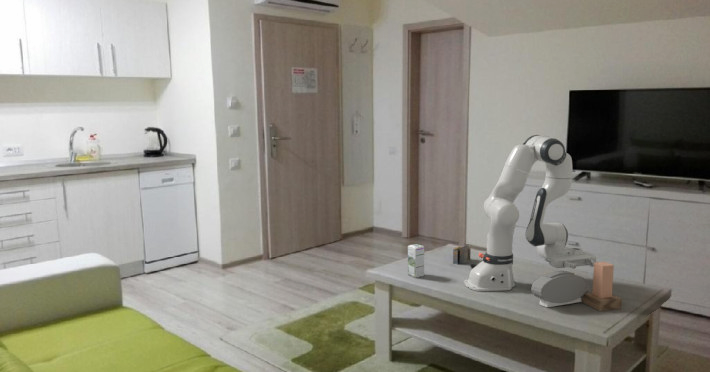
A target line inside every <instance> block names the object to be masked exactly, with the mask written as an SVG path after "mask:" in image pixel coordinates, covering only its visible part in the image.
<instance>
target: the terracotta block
mask: <svg viewBox="0 0 710 372" xmlns="http://www.w3.org/2000/svg"><path fill="white" fill-rule="evenodd" d="M614 266H615V264H612V263H610V262H607V261H599V262H597V261H596V263H594V267H593V280H592V292H593V293H592V294H593V295H595V296H597V297H599V298H608V297H612V294H613V283H614Z"/></svg>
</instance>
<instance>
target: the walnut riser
mask: <svg viewBox="0 0 710 372" xmlns="http://www.w3.org/2000/svg"><path fill="white" fill-rule="evenodd" d="M592 293H593V291H586V293H585V294H584V295H583V296H582V303H583V304H585V305H586V306H588V307H591V308H593V309H595V310H597V311H599V312H603V311H611V310H618V309H619V310H620V309H622V303H623V299H622V298H621V297H620V296H617V295H616V294H613V293H612V297H608V298H599V297H597V296H595V295H593V294H592Z"/></svg>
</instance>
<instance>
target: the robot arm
mask: <svg viewBox="0 0 710 372" xmlns="http://www.w3.org/2000/svg"><path fill="white" fill-rule="evenodd" d="M538 161H539V162H542V163H545V168H546V169H545V170H546V171H545V178H544V182H543V184H542V186H541V188H539V189H538V191H537V192H536V195H535V199H534V201H533V206H532V210H531V215H530V219H529V223H528V225H527V227H526V230H525V238H526V240H527V242H528V243H529V244H530V245H532V246H533V247H536V251H537V254H538V255H539V256H540V257H541V258H543V259H544V261H545V262H548V264H549V266H551V267H553V268H554V269H563V268H564V269H565V268H569V269H573V270H574V269H576V268H577V267H585V266H586V267H587V266H589V267H591V268H594V263H597V256H596V254H595V255H594V254H592V253H590V252H588V251H584V250H583V249H582V248H577V247H576V248H575V247H569V246H567V243H568V240H569V231H568V229H567V228H566V226H565V224H563V223H561V222H558V221H557V222H549V223H548V222H546V223H543V222H544V218H545V214H546V209H547V207H548V206H549V204H550V203H552V202H553V201H556V200H558V199H559V198H562V197H564V196H565V195H566V194H568V193H569V192H570V190H571V188H572V181H573V160H572V156H571V155H570V154H569V153H567V152H566V148H565V144H564V143H563V142H562V141H561V140H559V139H557V138H553V137H550V136H549V135H548V136H547V135H542V134H541V135H540V134H532V135H531V136H529V137H528V138H527V139H525V141H524V142H523V143H522V144H520V143H519V144H517V145H515V146H514V147H513V148H512V149H511V152H510V153H509V155H508V157H507V158H506V161H505V164H504V166H503V169H502V171H501V174H500V176H499V178H498V181H497V182H496V185H495V186H494V188H493V189H492V191H491V192H490V194H489V196H488V197H487V198H486V199H485V200H484V202H483V210H484V213H485V215H486V216H487V217H488V218H489V219H490V226H489V230H488V233H487V234H486V252H485V254H484V253H482V252H479V253H478V257H479V258H481V259H482V261H481V262H479V263H478V264H476V265H475V266H474V267H473V268H471V270H470V272H469V275H468V278H467V279H464V280H463V284H464V286H466V287H467V288H468V287H469V288H468V289H470V290H473V291H475V292H492V291H494V292H498V291H500V292H501V291H511V290H512V289H513V287H515V286H516V282H515V279H514V272H513V264H514V253H513V243H514V242H513V241H514V239H513V238H514V234H515V229H516V225H517V222H518V221H519V217H520V211H519V209H518V207H517V206H516V204H515V203H514V202H515V200H516V199H517V198H518V195H519V194H520V193H522V192H523V190H524V189H525V185H526V183H527V181H528V178H529V175H530V173H531V171H532V168H533V166H534V164H535V163H536V162H538Z"/></svg>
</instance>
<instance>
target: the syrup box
mask: <svg viewBox="0 0 710 372" xmlns="http://www.w3.org/2000/svg"><path fill="white" fill-rule="evenodd" d="M407 275H408V276H411V277H412V276H413V278H415V279H416V277H417V278H421V277H424V276H425V246H424V245H420V244H416V243H415V244H413V243H412V244H409V245H407ZM420 276H421V277H420Z"/></svg>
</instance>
